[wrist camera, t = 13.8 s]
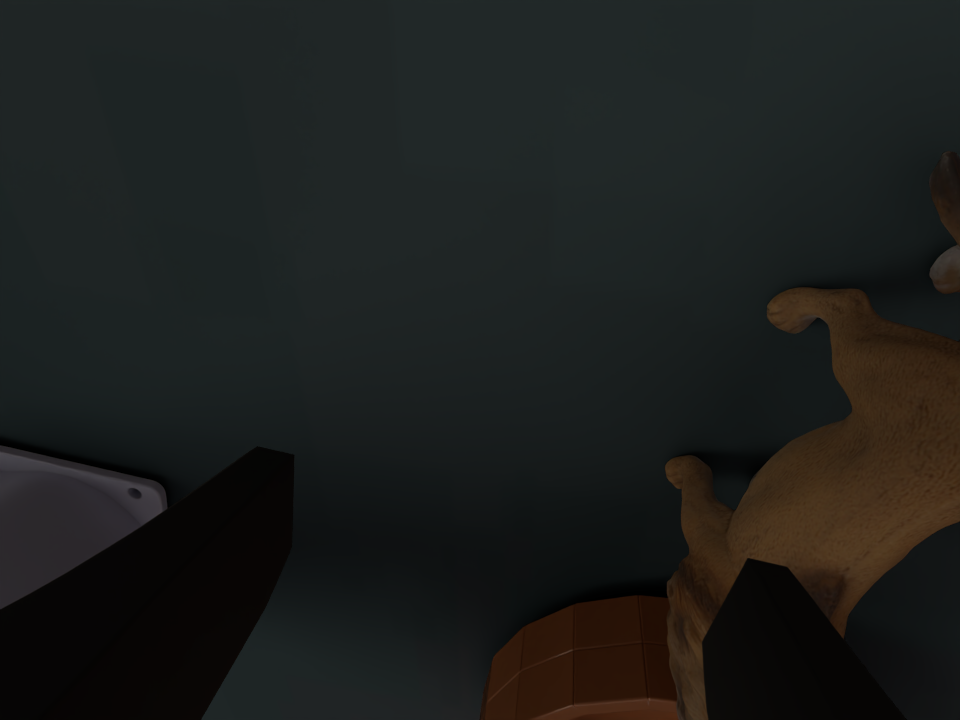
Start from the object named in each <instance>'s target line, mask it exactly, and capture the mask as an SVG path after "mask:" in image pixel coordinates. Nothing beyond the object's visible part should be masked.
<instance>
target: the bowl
mask: <svg viewBox="0 0 960 720" xmlns="http://www.w3.org/2000/svg"><path fill="white" fill-rule="evenodd" d="M670 608H671V607H670V603H669V599H668V598H664V597H655V596H645V595H639V596H638V595H633V596H626V597H618V598H611V599H603V600H596V601H588V602H581V603H576V604H575V605H574V604H573V605H570V606H568V607H566V608H564V609H561V610H559V611H557V612H554V613H552V614H550V615H548V616H545V617H543V618H541V619H538V620H536V621H534V622H532V623H529V624H527V625H526V626H523V627H522V628H521V629H520V630H519V631H518V632H517V633H516V634H515V635H514V636H513V637H512V638H511V639H510V640H509V641H508V642H507V643H506V644H505V645H504V646H503V647H502V648H501V649H500V650H499V651H498V652H497V653H496V654H495V656H494V658H493V660H492V663H491V667H490V670H489V674H488V677H487V681H486V684H485V687H484V691H483V698H482V705H481V712H480V719H479V720H679V719H678V716H677V710H676V703H677V689H676V685H675V682H674V679H673V677H672V673H671V670H670V666H669V659H670V652H669V647H668V643H667V636H668V625H667V614H668V611H669V609H670Z"/></svg>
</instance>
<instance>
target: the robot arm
mask: <svg viewBox="0 0 960 720" xmlns="http://www.w3.org/2000/svg"><path fill="white" fill-rule="evenodd" d="M293 489H294V455H293V454H288V453H284V452H280V451H275V450H271V449H266V448H262V447H258V446H257V447H256V448H254V449H252V450H251V451H249V452H248V453H246V454H245V455H243V456H242V457H240V458H239V459H238V460H236V461H235V462H233V463H232V464H231V465H229V466H228V467H226V468H225V469H224V470H222V471H221V472H219V473H218V474H217V475H215V476H214V477H212V478H211V479H209V480H208V481H207V482H205V483H204V484H202V485H201V486H200V487H198V488H197V489H195V490H194V491H192V492H191V493H190V494H188V495H187V496H185V497H184V498H182V499H181V500H179V501H178V502H176V503H175V504H174V505H172V506H171V507H169V508H167V499H166V492H165V489H164V488H163V486H162V485H161V484H159V483H158V482H156V481H153V480H149V479H145V478H141V477H136V476H132V475H128V474H123V473H119V472H115V471H110V470H106V469H102V468H97V467H93V466H89V465H84V464H80V463H76V462H71V461H67V460H63V459H58V458H54V457H50V456H45V455H41V454H37V453H32V452H28V451H24V450H19V449H15V448H11V447H6V446H2V445H0V720H201V719H202V717H203V715H204V714H205V712H206V710H207V708H208V707H209V705H210V703H211V701H212V700H213V698H214V696H215V695H216V693H217V691H218V689H219V688H220V686H221V684H222V682H223V681H224V679H225V677H226V676H227V674H228V672H229V670H230V669H231V667H232V665H233V663H234V662H235V660H236V658H237V657H238V655H239V653H240V651H241V650H242V648H243V646H244V644H245V643H246V641H247V639H248V637H249V636H250V634H251V632H252V630H253V629H254V627H255V625H256V623H257V622H258V620H259V618H260V616H261V614H262V613H263V611H264V609H265V607H266V606H267V603H268V601H269V599H270V597H271V594H272V592H273V590H274V588H275V585H276V583H277V581H278V579H279V576H280V574H281V572H282V569H283V567H284V564H285V562H286V560H287V557H288V555H289V553H290V550H291V548H292V529H293ZM702 654H703V672H704V686H705V698H706V710H707V715H708V720H907V719H906V718H905V717H904V716H903V715H902V713H901V712H900V711H899V710H898V708H897V707H896V706H895V705H894V703H893V702H892V701H891V700H890V698H889V697H888V696H887V695H886V693H885V692H884V691H883V689H882V688H881V687H880V686H879V684H878V683H877V682H876V681H875V679H874V678H873V677H872V675H871V674H870V673H869V672H868V670H867V669H866V668H865V666H864V665H863V664H862V663H861V661H860V660H859V659H858V657H857V656H856V655H855V654H854V652H853V651H852V650H851V648H850V647H849V646H848V644H847V643H846V642H845V640H844V639H843V638H842V637H841V635H840V634H839V633H838V631H837V630H836V629H835V627H834V626H833V625H832V623H831V622H830V621H829V619H828V618H827V617H826V616H825V614H824V613H823V612H822V610H821V609H820V608H819V606H818V605H817V604H816V602H815V601H814V600H813V598H812V597H811V596H810V595H809V593H808V592H807V591H806V589H805V588H804V587H803V586H802V584H801V583H800V582H799V580H798V579H797V578H796V577H795V575H794V574H793V573H792V572H791V571H790V569H789V568H788V567H786V566H782V565H778V564H773V563H769V562H764V561H760V560H755V559H751V558H747V560H746V562H745V564H744V565H743V567H742V569H741V571H740V573H739V575H738V576H737V578H736V580H735V582H734V584H733V586H732V587H731V589H730V591H729V593H728V595H727V597H726V598H725V600H724V602H723V604H722V606H721V608H720V609H719V611H718V613H717V615H716V617H715V619H714V620H713V622H712V624H711V626H710V628H709V630H708V631H707V633H706V635H705V637H704V639H703V641H702Z"/></svg>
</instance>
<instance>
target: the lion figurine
mask: <svg viewBox="0 0 960 720" xmlns="http://www.w3.org/2000/svg"><path fill="white" fill-rule="evenodd" d="M929 186H930V189H931V196H932V200H933V202H934V204H935V206H936V209H937V211H938V213H939V216H940V220H941V222H942V223H943V224H944V226H945V227H946V228H947V230H948V231H949V232H950V234H951V235H952V236H953V238H954V239H955V241H956V243H957V244H958V245H956V246H954V247H951V248H950V249H948V250H947V251H945V252H944V253H943V254H941V255H940V256H939V257H938V258H937V260H936V261H935V263H934V264H933V265H932V267H931V268H930V278H931V279H932V281H933V284H934V286H935V288H936V289H937V290H938V291H939V292H941V293H943V294H950V293H953V292H960V160H959V157H958V155H957V153H955V152H950V151H947V152H945V153H943V154H942V156H941V159H940V160H939V162H938V164H937V166H936V167H935V169H934V170H933V172H932V174H931V175H930V180H929ZM767 317H768V320H769V321H770V322H771V323H772V324H773V325H774V326H776V327H777V328H778V329H781V330H784V331H786V332H788V333H794V334H795V333H799V332H801V331H802V330H804V329H805V328H807V327H808V326H809V325H810V324H811V323H812V322H813V321H814V320H815V319H816V318H821V319H822V320H824V321H825V322H826V323H827V324H828V326H829V329H830V340H831V346H832V366H833V372H834V375H835V377H836V379H837V380H838V382H839V384H840V385H841V386H842V388H843V389H844V391H845V393H846V394H847V396H848V398H849V400H850V403H851V405H852V412H851V414H850V415H849V416H848V417H847V418H845V419H844V420H841V421H837V422H834V423H831V424H828V425H826V426H823V427H820V428H818V429H815V430H813V431H811V432H808V433H806V434H804V435H802V436H800V437H798V438H795V439H794V440H792V441H790V442H789V443H788V444H786V445H785V446H784V447H783V448H782V449H781V450H779V451H778V452H777V453H776V454H775V455H774V456H772V457H771V458H770V459H769V460H768V461H767V462H766V464H765V465H764V466H763V467H762V468H761V469H760V470H759V471H758V472H757V473H756V474H755V475H754V477H753V478H752V479H751V481H750V483H749V488H748V489H747V491H746V493H745V494H744V496H743V498H742V499H741V501H740V503H739V505H738V507H737V509H736V510H732V509H731V508H729V507H728V506H726V505H725V504H723V503H721V502H719V501H718V500H717V498H716V496H715V494H714V491H713V479H712V471H711V469H710V467H709V465H708V464H705V463H704V462H702V461H701V460H700V459H699V458H697V457H695V456H692V455H686V456H678V457H675V458H672V459H671V460H670V461H668V462H667V464H666V466H665V471H666V476H667V479H668V480H669V481H670V482H671V483H672V484H673V485H674V486H675V487H676V488H677V489H682V509H681V525H682V530H683V533H684V536H685V538H686V541H687V543H688V545H689V554H688V556H687V557H686V558H684V559H682V561H681V562H680V564H679V569H678V571H675V572H674V574H673V576H672V578H671V579H670V580H669V581H668V582H667V596H668V599H669V603H670V607H671V608H670V609H669V611H668V614H667V625H668V636H667V643H668V647H669V652H670V659H669V666H670V670H671V673H672V677H673V679H674V682H675V685H676V689H677V703H676V710H677V716H678V719H679V720H708V715H707V710H706V698H705V686H704V672H703V654H702V641H703V639H704V637H705V635H706V633H707V631H708V630H709V628H710V626H711V624H712V622H713V620H714V619H715V617H716V615H717V613H718V611H719V609H720V608H721V606H722V604H723V602H724V600H725V598H726V597H727V595H728V593H729V591H730V589H731V587H732V586H733V584H734V582H735V580H736V578H737V576H738V575H739V573H740V571H741V569H742V567H743V565H744V564H745V562H746V560H747V558H751V559H755V560H760V561H764V562H769V563H773V564H778V565H782V566H786V567H788V568H789V569H790V571H791V572H792V573H793V574H794V575H795V577H796V578H797V579H798V580H799V582H800V583H801V584H802V586H803V587H804V588H805V589H806V591H807V592H808V593H809V595H810V596H811V597H812V598H813V600H814V601H815V602H816V604H817V605H818V606H819V608H820V609H821V610H822V612H823V613H824V614H825V616H826V617H827V618H828V619H829V621H830V622H831V623H832V625H833V626H834V627H835V629H836V630H837V631H838V633H839V634H840V635H841V637H842V638H843V639H844V635H845V630H846V624H847V618H848V615H849V613H850V612H851V610H852V609H853V608H854V607H855V605H856V604H857V603H858V601H859V600H860V599H861V597H862V596H863V595H864V594H865V593H866V592H867V591H868V590H869V589H870V588H871V586H872V585H873V584H874V583H875V582H876V581H877V580H878V579H879V578H881V577H882V576H883V575H884V574H885V573H886V572H887V571H888V570H890V569H891V568H892V567H894V566H895V565H896V564H897V563H899V562H900V561H901V560H902V559H903V558H904V557H905V556H906V555H907V554H908V553H909V551H910V550H911V549H912V548H913V547H914V546H916V545H917V544H919V543H920V542H921V541H923V540H924V539H926V538H927V537H929V536H930V535H932V534H933V533H935V532H936V531H938V530H940V529H942V528H944V527H946V526H949V525H951V524H954V523H957V522H959V521H960V340H959V342H958V341H955V340H952V339H949V338H947V337H944V336H941V335H938V334H934V333H931V332H928V331H925V330H922V329H918V328H914V327H910V326H907V325H903V324H899V323H895V322H892V321H889V320H886V319H883V318H881V317H880V316H878V315H877V314H876V312H875V311H874V310H873V308H872V306H871V303H870V300H869V298H868V296H867V295H866V294H865V293H864V292H863V291H861V290H859V289H818V288H812V287H798V288H792V289H788V290H786V291H784V292H782V293H780V294H778V295H777V296H775V297H774V298H773V299H772V300H771V301H770V302H769V304H768V305H767Z"/></svg>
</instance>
